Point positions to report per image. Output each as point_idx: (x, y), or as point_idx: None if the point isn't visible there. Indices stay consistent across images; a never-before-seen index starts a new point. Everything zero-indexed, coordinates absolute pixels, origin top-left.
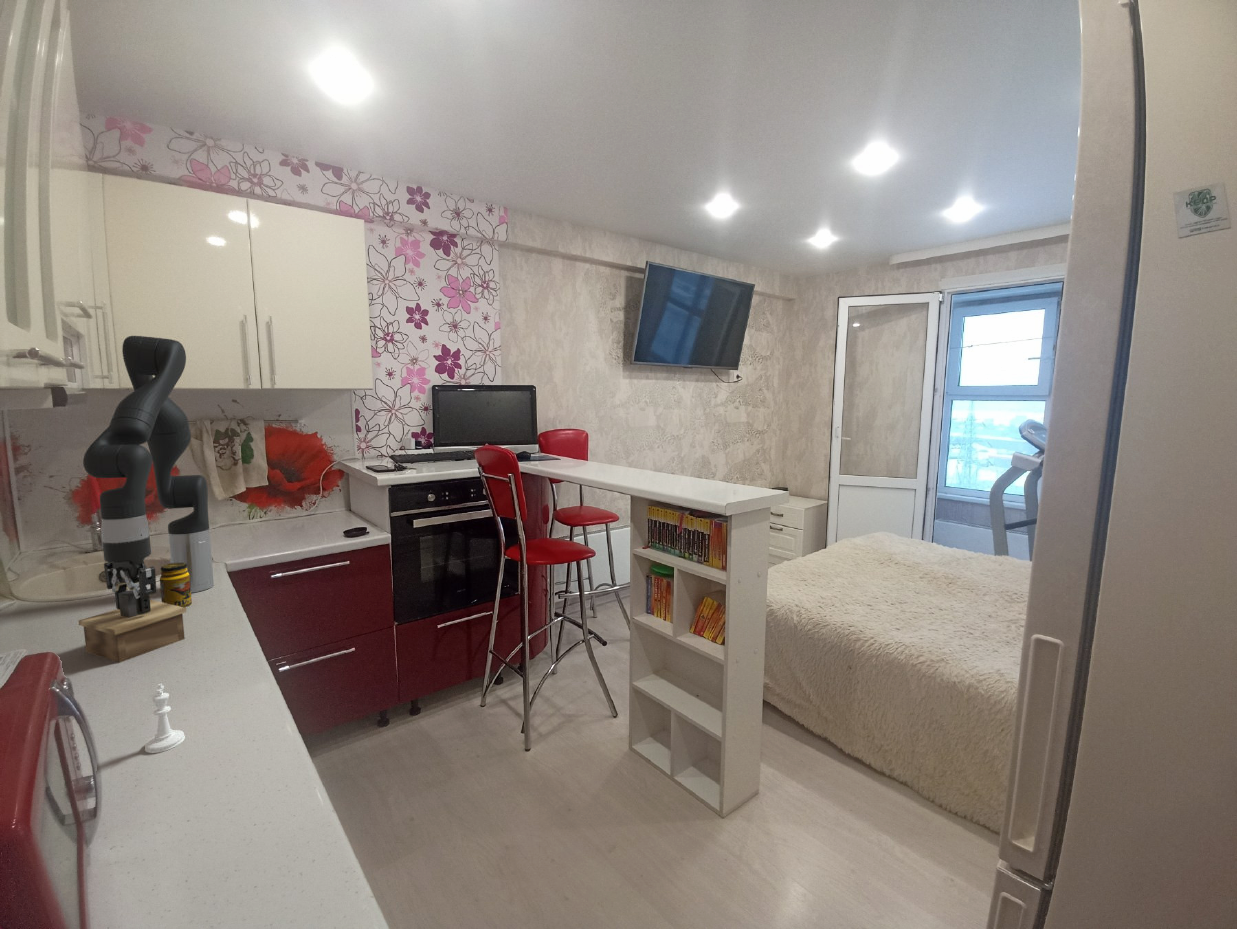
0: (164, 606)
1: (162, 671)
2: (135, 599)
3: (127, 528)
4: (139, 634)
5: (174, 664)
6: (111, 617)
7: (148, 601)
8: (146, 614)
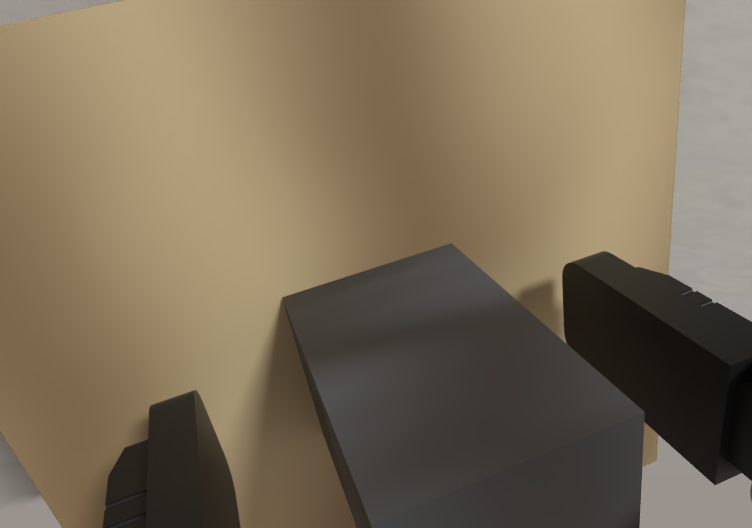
0: (400, 44)
1: (721, 184)
2: (703, 472)
3: None
4: None
5: (706, 123)
6: (311, 489)
7: (742, 328)
8: (515, 258)
